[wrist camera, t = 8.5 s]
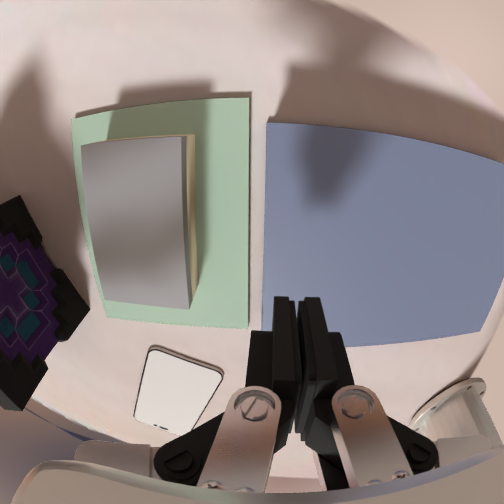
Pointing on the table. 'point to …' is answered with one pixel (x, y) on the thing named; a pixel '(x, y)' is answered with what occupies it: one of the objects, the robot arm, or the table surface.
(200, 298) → the mat
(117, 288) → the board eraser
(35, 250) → the energy cube
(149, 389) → the smartphone
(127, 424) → the table surface
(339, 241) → the textbook
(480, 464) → the robot arm
